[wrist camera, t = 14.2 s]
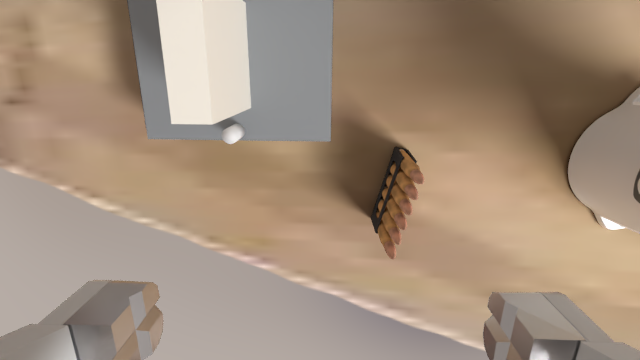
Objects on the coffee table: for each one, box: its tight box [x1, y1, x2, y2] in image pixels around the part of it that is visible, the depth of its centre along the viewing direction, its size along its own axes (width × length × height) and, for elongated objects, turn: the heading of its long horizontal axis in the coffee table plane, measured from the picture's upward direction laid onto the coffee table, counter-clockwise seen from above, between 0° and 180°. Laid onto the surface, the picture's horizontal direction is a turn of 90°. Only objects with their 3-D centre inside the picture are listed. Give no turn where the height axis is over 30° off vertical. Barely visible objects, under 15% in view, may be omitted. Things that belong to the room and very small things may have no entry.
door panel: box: [156, 0, 251, 125], centre depth 29 cm, size 3×10×12 cm, turn 0°
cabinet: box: [127, 0, 333, 144], centre depth 37 cm, size 21×17×11 cm
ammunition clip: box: [371, 147, 424, 259], centre depth 41 cm, size 11×2×12 cm, turn 165°
